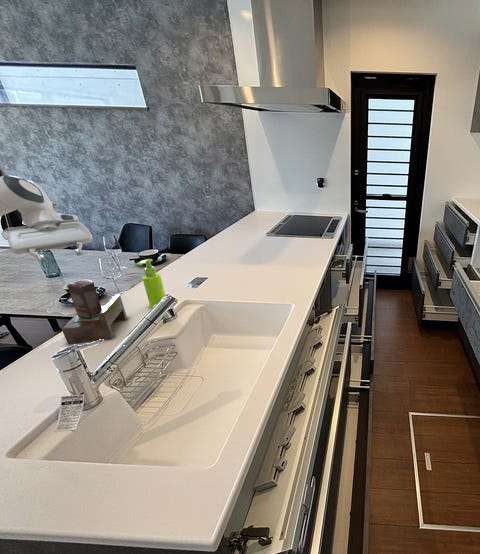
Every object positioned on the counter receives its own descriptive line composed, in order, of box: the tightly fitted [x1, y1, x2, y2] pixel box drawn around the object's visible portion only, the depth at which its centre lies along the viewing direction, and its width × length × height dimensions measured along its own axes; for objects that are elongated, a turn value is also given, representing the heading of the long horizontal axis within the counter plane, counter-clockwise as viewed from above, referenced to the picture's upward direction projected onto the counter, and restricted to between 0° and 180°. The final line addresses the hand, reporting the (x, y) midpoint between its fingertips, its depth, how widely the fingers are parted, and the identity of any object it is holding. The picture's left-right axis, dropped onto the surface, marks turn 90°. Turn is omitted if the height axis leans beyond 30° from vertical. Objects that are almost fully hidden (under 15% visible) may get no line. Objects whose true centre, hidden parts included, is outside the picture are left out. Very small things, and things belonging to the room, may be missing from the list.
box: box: [66, 280, 102, 319], centre depth 102 cm, size 6×4×12 cm
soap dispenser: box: [136, 258, 166, 309], centre depth 121 cm, size 6×7×20 cm
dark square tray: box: [61, 294, 128, 345], centre depth 105 cm, size 12×14×10 cm
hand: (61, 257), depth 104 cm, fingers open, 8 cm apart
